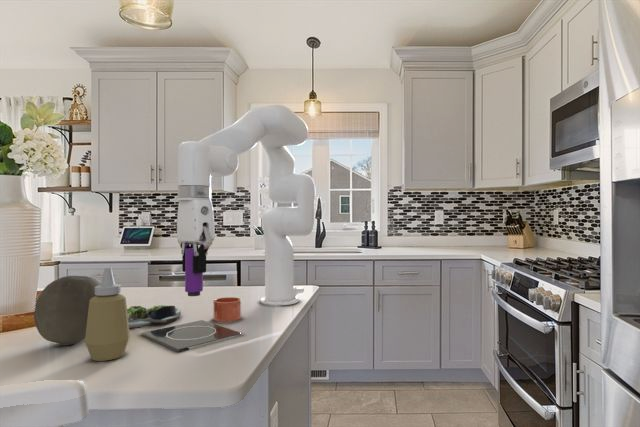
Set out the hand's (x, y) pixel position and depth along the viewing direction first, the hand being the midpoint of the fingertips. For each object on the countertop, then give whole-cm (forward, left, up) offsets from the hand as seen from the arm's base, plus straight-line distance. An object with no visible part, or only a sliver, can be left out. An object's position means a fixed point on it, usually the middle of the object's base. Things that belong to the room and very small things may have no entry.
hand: (194, 271), depth 94 cm
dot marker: (0, 0, -6) cm, 6 cm away
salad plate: (+1, -23, -16) cm, 27 cm away
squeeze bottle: (+19, -1, -16) cm, 24 cm away
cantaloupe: (+21, -17, -16) cm, 31 cm away
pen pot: (-14, -8, -15) cm, 22 cm away
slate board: (0, -2, -15) cm, 16 cm away
